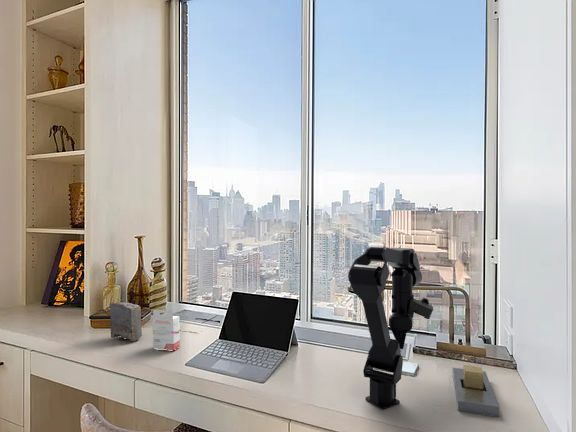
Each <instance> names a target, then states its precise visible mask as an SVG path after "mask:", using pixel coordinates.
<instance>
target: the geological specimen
mask: <svg viewBox="0 0 576 432" xmlns="http://www.w3.org/2000/svg"><path fill="white" fill-rule="evenodd" d="M109 315H110V338H112V339H113V338H119V337H121V338H122V337H123V338H122V339H124V338H126V339H130V340H129V341H131V342H136V341H137V340H140V339H141V338H142V336H143V330H142V310H141V306H140V305H138V304H133V303H130V302H129V301H125V302H121V301H118V302H111V303H109ZM118 336H119V337H118ZM126 339H125V340H126Z"/></svg>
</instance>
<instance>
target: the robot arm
mask: <svg viewBox="0 0 576 432" xmlns="http://www.w3.org/2000/svg"><path fill="white" fill-rule="evenodd" d="M371 262H379V263H383V265H382V267H381V266H380V265H370V264H371ZM389 266H390V267H391V268H392V269H393V271H392V272H391V274H390V269H389ZM420 270H421V267H420V263H419V258H418V254H417V252H415V250H414V248H409V247H407V248H405V247H404V248H403V247H387V246H386V245H385V246H383V245H370V246H368V247H367V248H366V251H365V252H363V254H361V255H360V256H358V257H357V258H356V259H354V261H353V263H352V264H351V267H350V269H349V271H348V274H347V278H348V282H349V284H350V287H351V289H352V293H354V295H356V296H357V297H358V299H360V301H362V302H361V303H362V305H363V310H364V315H365V320H366V323H367V327H368V332H369V335H370V336H369V337H370V341H371V346H370V348H369V350H368V353H367V357H366V360H365V364H364V367H363V371H362V372H363V377H364V378H369V395H368V396H366V397H365V400H366V401H368V402H369V403H371V404H372V405H374V406H375V407H378V408H379V409H381V410H385V409H389V408H391V407H394V406H396V405H399V404H400V402H401V401H400V400H399V399H397V383H398V382H399V381H400V380H402V375H403V374H402V365H403V362H404V358H403V355H402V354H401V352H402V350H404V347H405V342H406V339H407V338H406V337H407V333H408V332H409V331H411V330H413V323H414V322H413V321H414V319H413V318H414V317H415V315H414V314H416V315H418V316H420V317H423V318H424V319H427V320H430V319H431V316H432V313H433V311H434V306H433V305H432V304H430V301H429V299H428V298H425V297H423V298H421V299H416V298H414V297H415V295H414V294H413V287H415V286H417V285H419V284H420V283H422V281H423V274H422V271H420ZM389 276H390V277H391V279H392V280H391V281H392V282H391V283H392V284H391V300H392V301H391V304H392V305H391V306H392V307H391V313H392V314H391V315H390V316H389V317H388V321H387V316H386V311H385V306H384V301H383V297H382V294H383V292H384V289H385V287H386V285H387V280H388V278H389ZM389 329H390V330H391V332H392V335H393V337H394V338H391V335H390V331H389ZM374 368H376V369H374ZM378 369H380V370H378ZM383 370H384V371H383Z"/></svg>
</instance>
